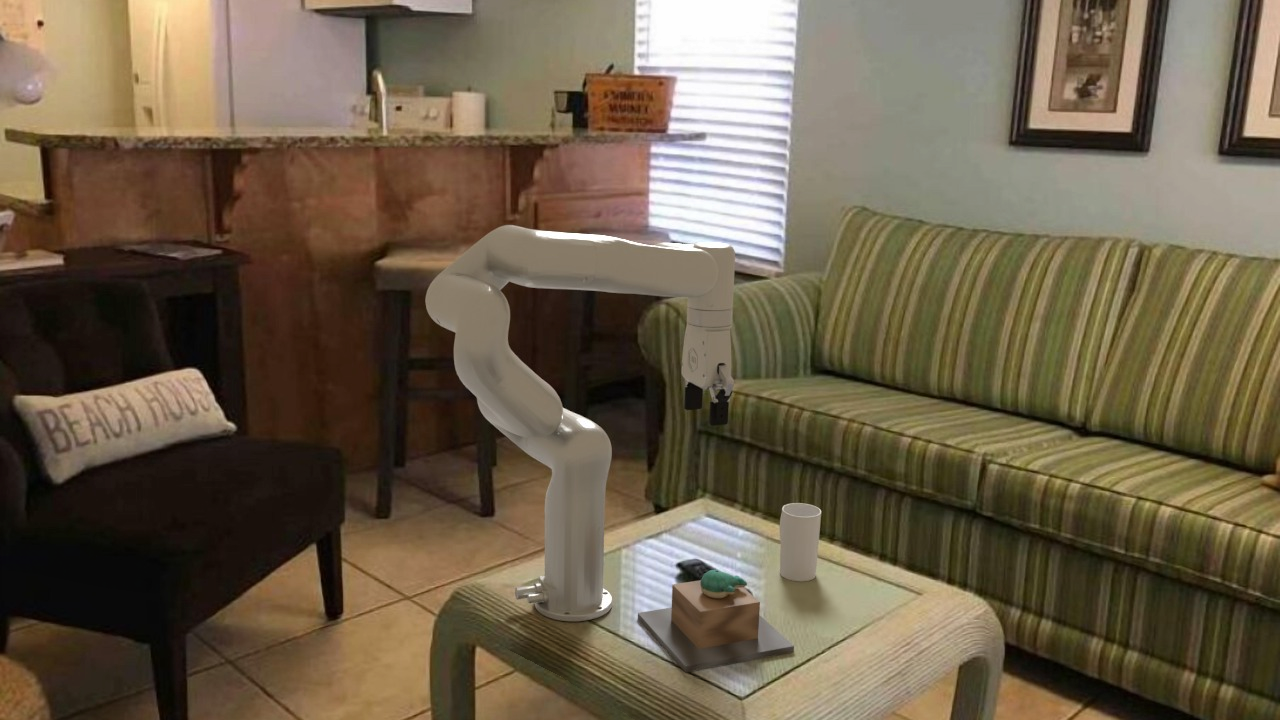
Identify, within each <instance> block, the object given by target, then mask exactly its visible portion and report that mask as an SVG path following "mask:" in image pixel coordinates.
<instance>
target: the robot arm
mask: <svg viewBox="0 0 1280 720" xmlns="http://www.w3.org/2000/svg"><path fill="white" fill-rule="evenodd" d="M735 252H736V251H735V249H734V246H732V245H730V244H728V243H723V242H715V241H714V242H713V241H710V242H709V241H708V242H707V241H705V242H696V243H695V244H694V243H693V244H689V243H687V244H686V243H685V244H684V243H683V244H682V243H675V242H674V243H673V242H659V243H656V244H653V245H650V244H643V243H638V242H634V241H630V240H627V239H624V238H623V239H622V238H619V237H615V236H608V235H601V234H587V233H572V232H561V231H551V230H550V231H549V230H541V229H540V230H539V229H531V228H527V227H523V226H518V225H513V224H505V225H502V226H499V227H497V228H495V229H493V230H491V231H489V232H488V233H487V234H486V235H484V236H483V237H481V239H478V241H477V242H475V243H474V244H473V245H471V247H469V249H467V250H466V251H465V252H463V253H462V254H461V255H460V256H458V257H457V259H455V260H454V261H453V262H452V263H451V264H449V265H448V266H446V267H445V268H444V269H443V270H442V271H441V272H440V273H439V274H437V276H436V277H435V278H433V280H432V282H431V283H430V284H429V286H428V288H427V291H426V293H425V294H426V295H425V306H426V307H425V308H426V312H427V313H428V315H429V317H430V318H431V319H432V320H433V322H435V324H437V325H438V326H440V327H442V328H445V329H446V330H448V331H451V332H453V333H455V335H454V343H453V361H454V363H453V364H454V369H455V372H456V375H457V376H458V378H459V381H460V382H461V383H462V384H463V385H464V387H465V388H466V389H467V390H469V391H470V392H471V393H472V395H474V396H475V397H476V401H477V402H476V403H477V405H478V409H479V411H480V412H481V414H482V415H483V417H484V418H485V420H487V421H488V422H489V423H490V424H491V425H493V426H494V427H495V429H497V430H499V432H500V433H502V434H503V435H504V436H505V437H507V438H508V439H509V440H510V441H511V442H512V443H513V444H515V445H516V446H517V447H518V448H519V449H521V451H524V452H525V454H527V455H529V456H530V457H532V458H533V459H535V460H537V461H538V462H540V463H542V464H543V465H544V466H546V467H548V468H550V469H551V477H550V478H551V479H550V482H549V484H548V487H547V489H546V493H545V497H544V498H545V499H544V575H539V577H538V582H534V583H533V585H528V586H527V585H525V586H517V587H515V588H514V594H515V595H514V596H515V598H516V600H523V599H526V600H527V603H528V604H534V607H535V609H536V610H537V612H538V613H540V614H541V615H542V616H544V617H547V618H549V619H551V620H552V619H553V620H556V621H563V622H585V621H591V620H594V619H598V618H600V617H602V616H604V615H606V614H607V613H608V612H610V610H611V609H612V606H613V597H612V594H611V593H610V592H609V591H608V590H607V589H605V588H604V563H605V562H604V557H605V554H604V553H605V508H606V507H605V505H606V503H605V502H606V488H607V480H608V476H609V470H610V466H611V462H612V451H613V450H612V444H611V440H610V438H609V435H608V433H606V431H605V430H604V429H603V428H602V427H601V426H599V425H598V424H597V423H595V422H594V421H592V420H591V419H589V418H587V417H584V416H583V415H581V414H578V413H575V412H574V411H570V410H569V409H567V408H564V407H563V403H562V401H561V398H560V396H559V395H558V393H557V391H556V390H555V389H554V388H553V387H552V386H551V385H550V384H549V383H548V382H546V381H545V380H544V379H542V378H541V377H540V376H539V375H538V374H537V373H535V372H534V371H533V369H531V368H530V367H529V366H528V365H527V364H526V363H524V362H523V361H522V360H521V359H520V358H519V356H518V355H516V354H515V352H514V351H513V350H512V349H511V347H510V345H509V339H508V338H509V329H510V321H511V309H510V304H509V302H508V299H507V298H506V296H505V294H504V293H503V292H502V289H503V288H504V287H505V286H506V285H507V284H508V283H513V284H515V285H519V286H522V287H526V288H535V289H552V290H573V291H574V290H575V291H576V290H577V291H579V290H580V291H593V292H594V291H595V292H606V293H611V294H612V293H614V294H615V293H616V294H631V295H632V294H634V295H635V294H636V295H645V296H646V295H647V296H656V297H666V298H667V297H669V298H671V297H672V298H687V308H686V327H685V332H684V337H683V346H682V347H683V348H682V356H681V357H682V358H681V376H682V377H683V379H684V381H683V384H684V385H683V386H684V404H683V407H684V410H686V411H693V410H701V409H702V408H703V399H704V397H703V395H704V390H707V389H709V393H710V396H711V399H712V401H709V417H708V418H709V419H708V424H709V425H710V426H711V427H713V426H714V427H716V426H724V425H725V426H726V425H727V424H728V423H729V405H730V404H729V403H730V402H731V397H732V395H733V388H734V386H735V380H734V378H733V377H732V375H731V374H732V342H731V341H732V340H731V338H732V337H731V329H732V327H733V310H734V290H735V289H734V288H735V287H734V285H735V271H736V269H735V268H736V267H735V265H736V263H735V262H736V253H735ZM717 390H719V391H718V392H717Z"/></svg>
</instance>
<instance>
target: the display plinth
mask: <svg viewBox="0 0 1280 720" xmlns="http://www.w3.org/2000/svg"><path fill="white" fill-rule="evenodd" d="M671 585H672V588H671V607H665V608H661V609H654V610H647V611H641V612H638V613H637V620H638V621H639V622H640V623H641V625H643V627H644V628H645V629H646V630H647V631H648V632H649V633H650V635H652V636H653V638H654V639H655V640H656V641H657V642H658V643H659V645H660V646H662V648H663V649H664V650H665V652H667V654H668V655H669V656H670V657H671V658H672V659H673V661H674V662H675V663H676V664H677V665H678V666H679V667H680V669H682V670H683V672H685V673H691V672H695V671H700V670H706V669H712V668H715V667H716V668H717V667H721V666H726V665H732V664H737V663H743V662H749V661H755V660H759V659H765V658H769V657H774V656H779V655H781V656H782V655H785V654H786V655H787V654H790V653H795V645H794V644H793V643H792V642H790V640H788V639H787V638H786V637H785V636H784V635H782V633H781V632H779V631H778V630H777V629H776V628H774V626H772V625H771V623H770V622H768V621H767V620H766V619H765V618H763V616H761V615H760V612H761V611H760V607H761V601H760V600H758V599H757V598H756V597H755V596H754V595H753V594H752V593H751V592H749V591H748V590H747V589H746V588H745V587H743V588H736V589H735V593H734V594H732V595H730V594H729V595H727V596H726V597H724V598H712V597H709V596H707V595H705V594H704V593H703V592H702V591H701V579H700V580H694V581H693V580H692V581H688V582H687V581H686V582H680V583H674V584H671Z"/></svg>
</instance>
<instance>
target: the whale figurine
mask: <svg viewBox="0 0 1280 720" xmlns="http://www.w3.org/2000/svg"><path fill="white" fill-rule="evenodd" d="M700 580H701V591H702V592H703V593H704V594H705V595H707V596H709V597H712V598H724V597H726V596H727V595H729V594H730V595H732V594H734V593H735V589H736V588H745V587H746V586H747V584H748V583H747V581H746V580H745V579H743V578H742V577H740V576H739V575H732V574H730V573H728V572H724V571H721V570H717V569H711V570H708V571H706V572H705V573H704V574H703V575H702V578H701V579H700Z"/></svg>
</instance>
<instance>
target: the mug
mask: <svg viewBox="0 0 1280 720" xmlns="http://www.w3.org/2000/svg"><path fill="white" fill-rule="evenodd" d="M821 518H822V510H821V509H820V508H819V507H817V506H815V505H813V504H809V503H801V502H794V503H793V502H792V503H787V504H784V505H782V508H781V515H780V518H779V540H780V554H779V573H780V575H781V577H783V578H784V579H787V580H789V581H793V582H809V581H812V580H813V579H815V577H816V575H817V564H818V554H819V553H818V552H819V543H820V531H821V529H820V528H821V521H822V519H821Z"/></svg>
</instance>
